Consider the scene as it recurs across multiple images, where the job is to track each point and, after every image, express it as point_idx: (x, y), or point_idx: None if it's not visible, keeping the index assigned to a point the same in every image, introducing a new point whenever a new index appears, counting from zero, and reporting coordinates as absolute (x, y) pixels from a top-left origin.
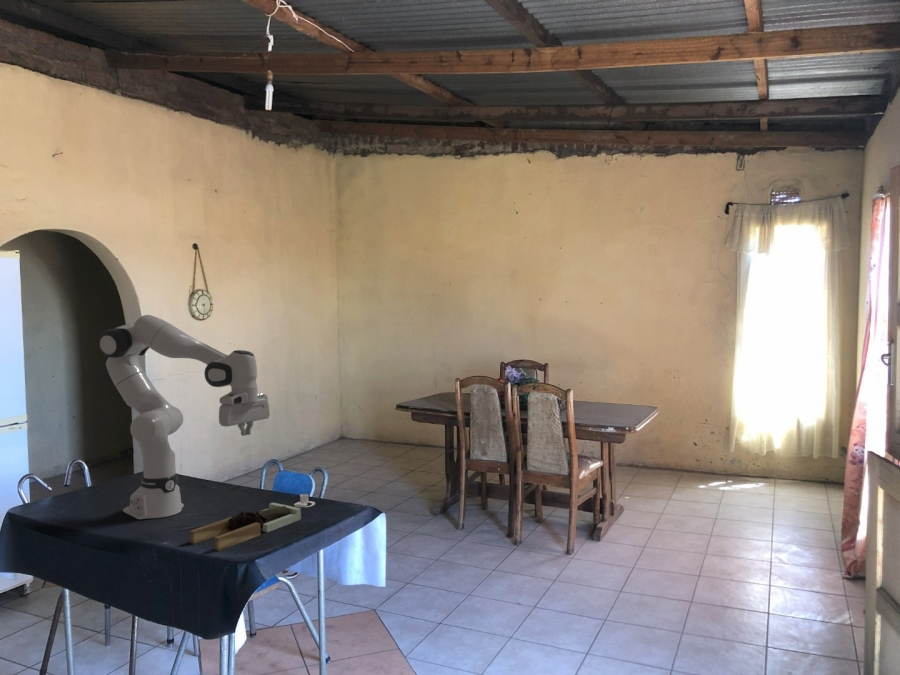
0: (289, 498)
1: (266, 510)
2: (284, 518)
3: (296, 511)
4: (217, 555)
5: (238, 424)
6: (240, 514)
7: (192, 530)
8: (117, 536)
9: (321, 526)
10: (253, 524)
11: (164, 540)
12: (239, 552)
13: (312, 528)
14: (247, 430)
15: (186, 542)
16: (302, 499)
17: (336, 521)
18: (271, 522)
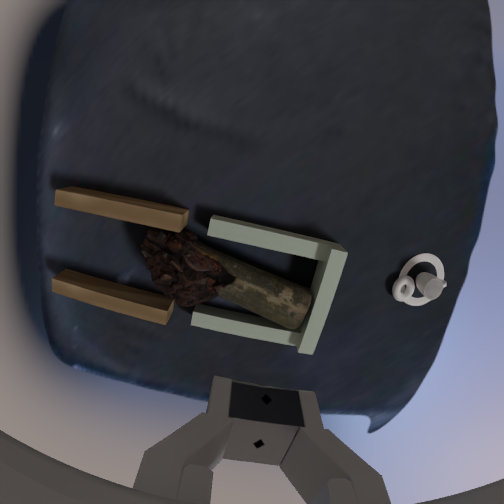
0: (459, 211)
1: (246, 297)
2: (253, 337)
3: (297, 349)
4: None
5: (138, 482)
6: (167, 260)
7: (59, 192)
8: (69, 5)
9: None
10: (151, 314)
11: (67, 114)
12: (80, 323)
13: None
14: (251, 460)
15: (71, 173)
16: (420, 286)
17: None
18: (213, 324)
